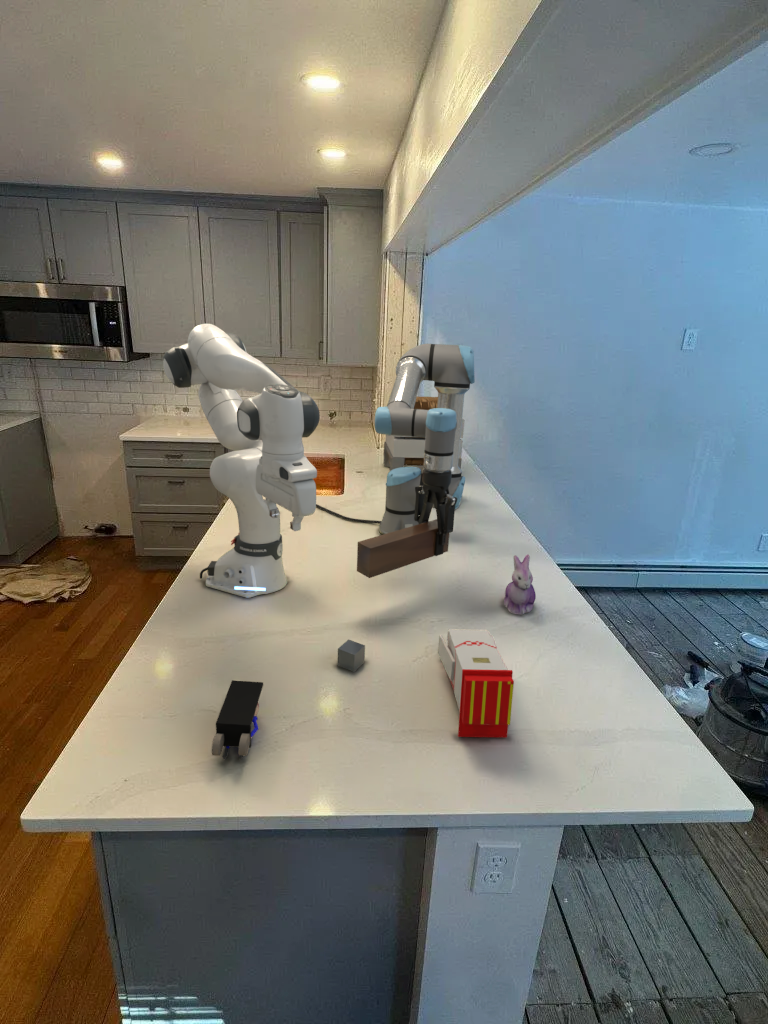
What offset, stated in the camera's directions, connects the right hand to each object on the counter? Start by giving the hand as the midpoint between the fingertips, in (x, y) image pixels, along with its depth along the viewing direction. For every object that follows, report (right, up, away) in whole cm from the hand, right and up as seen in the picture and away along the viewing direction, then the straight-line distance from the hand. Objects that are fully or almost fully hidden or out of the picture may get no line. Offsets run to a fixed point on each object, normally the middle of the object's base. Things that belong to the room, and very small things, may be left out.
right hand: (431, 550), depth 155 cm
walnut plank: (-8, -2, -6) cm, 10 cm away
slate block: (-20, -23, -29) cm, 42 cm away
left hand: (-35, +8, -29) cm, 46 cm away
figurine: (+24, -15, -2) cm, 28 cm away
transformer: (+4, +29, +120) cm, 123 cm away
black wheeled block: (-39, -31, -52) cm, 72 cm away
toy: (+5, -27, -37) cm, 46 cm away
